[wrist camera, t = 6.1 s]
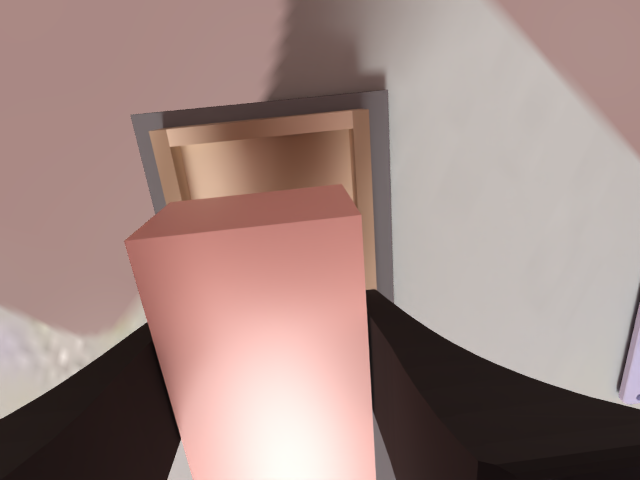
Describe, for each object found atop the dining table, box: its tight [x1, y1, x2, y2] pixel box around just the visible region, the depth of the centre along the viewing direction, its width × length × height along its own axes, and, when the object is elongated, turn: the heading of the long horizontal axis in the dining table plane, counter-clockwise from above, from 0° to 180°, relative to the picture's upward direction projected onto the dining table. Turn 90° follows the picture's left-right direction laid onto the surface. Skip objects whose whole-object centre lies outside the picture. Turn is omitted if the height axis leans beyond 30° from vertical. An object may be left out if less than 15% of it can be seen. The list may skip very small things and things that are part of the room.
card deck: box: [124, 184, 376, 480], centre depth 10 cm, size 8×5×3 cm, turn 5°
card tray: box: [149, 109, 377, 290], centre depth 16 cm, size 8×11×2 cm
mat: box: [131, 90, 396, 480], centre depth 19 cm, size 10×22×1 cm, turn 5°
